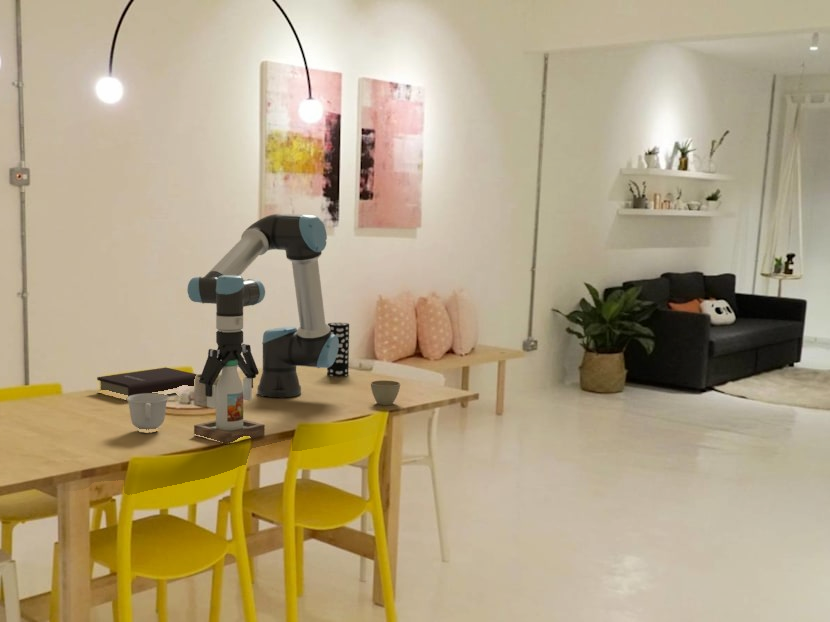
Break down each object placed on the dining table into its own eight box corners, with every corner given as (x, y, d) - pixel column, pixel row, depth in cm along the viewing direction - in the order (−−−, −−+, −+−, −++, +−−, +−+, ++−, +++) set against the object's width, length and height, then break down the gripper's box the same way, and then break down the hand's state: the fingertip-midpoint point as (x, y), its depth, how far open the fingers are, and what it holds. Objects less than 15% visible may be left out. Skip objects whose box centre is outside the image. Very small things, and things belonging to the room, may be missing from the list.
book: (130, 403, 309) (130, 385, 308) (97, 394, 321) (97, 377, 320) (199, 391, 330) (199, 374, 329) (166, 383, 342) (165, 367, 342)
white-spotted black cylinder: (352, 374, 366) (353, 323, 364) (339, 377, 359) (340, 326, 357) (335, 372, 371) (336, 322, 369) (322, 375, 364) (323, 324, 362)
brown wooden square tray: (194, 436, 267) (194, 425, 266) (231, 427, 278) (231, 416, 277) (227, 444, 258) (227, 433, 258) (264, 435, 270) (264, 424, 269)
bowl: (396, 407, 310) (396, 386, 309) (367, 405, 312) (367, 384, 311) (402, 401, 320) (403, 381, 319) (374, 399, 321) (374, 379, 321)
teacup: (125, 439, 261) (125, 404, 260) (126, 427, 275) (126, 393, 274) (170, 437, 264) (170, 403, 263) (168, 425, 278) (168, 392, 277)
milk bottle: (216, 432, 263) (216, 362, 261) (215, 425, 271) (214, 357, 268) (244, 430, 265) (244, 361, 263) (242, 424, 273) (242, 356, 270)
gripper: (204, 336, 252) (204, 413, 255) (271, 327, 272) (270, 398, 275) (186, 333, 257) (186, 408, 259) (253, 324, 277) (252, 395, 279)
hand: (229, 403), depth 267 cm, fingers open, 13 cm apart
